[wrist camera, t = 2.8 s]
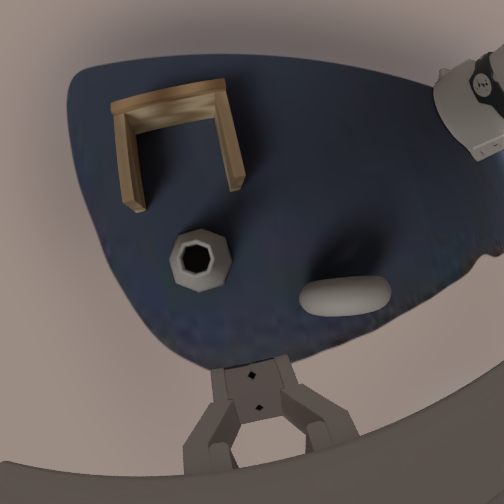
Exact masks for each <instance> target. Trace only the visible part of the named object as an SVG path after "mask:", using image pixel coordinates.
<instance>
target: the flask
mask: <svg viewBox="0 0 504 504" xmlns="http://www.w3.org/2000/svg"><path fill="white" fill-rule="evenodd" d="M169 262H170V265H171V269H172V272H173V276H174V279H175V283H176V284H179V285H181V286H184V287H187V288H189V289H192V290H194V291H197V292H202V291H206V290H209V289H213V288H216V287H219V286H223V285H224V283H225V280H226V277H227V275H228V272H229V269H230V267H231V264H232V258H231V255H230V252H229V248H228V245H227V241H226V238H225V237H224V236H221V235H218V234H216V233H213V232H210V231H208V230H205V229H203V228H201V229H197V230H194V231H190V232H187V233H184V234H180V235H178V236H177V238H176V241H175V243H174V246H173V249H172V251H171V254H170V257H169Z"/></svg>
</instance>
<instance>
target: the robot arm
mask: <svg viewBox="0 0 504 504" xmlns="http://www.w3.org/2000/svg"><path fill="white" fill-rule="evenodd" d="M433 95H434V101H435V105H436V108H437V110H438V113H439V115H440V117H441V119H442V121H443V122H444V124H445V125H446V127H447V128H448V130H449V131H450V132H451V134H452V135H453V136H454V137H455V138H456V139H457V140H458V141H459V142H460V143H461V144H463V145H464V146H465V147H466V148H467V149H468V150H469V152H470V153H471V155H472V156H473V157H474V159H475V160H477V161H481V160H483V159H485V158H487V157H489V156H491V155H493V154H495V153H497V152H499V151H501V150H503V149H504V44H503V45H502V46H501V47H500V48H498V49H497V50H496V51H495V52H488V53H487V54H484V55H483V56H481V57H480V58H479V59H478V60H477V61H474V60H470V59H468V60H466V61H464V62H462V63H461V64H459V65H458V66H456V67H454V68H453V69H451V70H448V69H445V68H443V69H441V70H440V71H439V79H438V81H437V82H436V83H435V85H434V90H433ZM211 381H212V390H213V399H214V403H210V404H209V406H208V408H207V409H206V411H205V412H204V414H203V416H202V417H201V419H200V420H199V422H198V423H197V425H196V426H195V428H194V430H193V431H192V433H191V434H190V436H189V437H188V439H187V441H186V442H185V444H184V445H183V462H184V475H174V476H149V477H148V476H146V477H129V476H126V477H125V476H103V475H89V474H78V473H70V472H62V471H55V470H49V469H43V468H37V467H32V466H27V465H22V464H18V463H14V462H10V461H3V462H1V463H0V504H504V361H502V362H501V363H500V364H498V365H497V366H495V367H494V368H493V369H491V370H489V371H488V372H486V373H485V374H483V375H482V376H480V377H479V378H477V379H475V380H474V381H472V382H471V383H469V384H467V385H466V386H464V387H462V388H461V389H459V390H458V391H456V392H454V393H452V394H450V395H448V396H447V397H445V398H443V399H441V400H439V401H437V402H436V403H434V404H432V405H430V406H428V407H426V408H424V409H422V410H420V411H418V412H416V413H414V414H412V415H410V416H407V417H405V418H403V419H401V420H398V421H396V422H394V423H392V424H389V425H387V426H385V427H382V428H380V429H378V430H375V431H372V432H370V433H367V434H365V435H362V436H359V434H358V431H357V429H356V427H355V425H354V423H353V421H352V419H351V417H350V415H349V413H348V411H347V410H345V409H343V408H341V407H340V406H338V405H336V404H334V403H333V402H331V401H329V400H328V399H326V398H324V397H323V396H321V395H320V394H318V393H316V392H315V391H313V390H312V389H310V388H308V387H307V386H305V385H304V384H298V381H297V379H296V376H295V373H294V371H293V368H292V366H291V363H290V360H289V358H288V356H287V355H282V356H278V357H274V358H269V359H265V360H260V361H256V362H251V363H248V364H242V365H236V366H230V367H224V368H219V369H213V370H211ZM278 416H284V417H285V418H286V419H287V420H288V421H290V422H291V423H292V424H293V425H294V426H296V427H297V428H298V429H299V430H300V431H302V432H303V433H304V434H306V450H305V454H302V455H298V456H295V457H291V458H287V459H283V460H278V461H274V462H270V463H264V464H259V465H254V466H249V467H243V468H239V467H238V465H237V463H236V461H235V459H234V456H233V454H232V452H231V450H230V449H231V447H232V445H233V443H234V440H235V438H236V436H237V434H238V431H239V429H240V427H241V424H245V423H250V422H254V421H258V420H263V419H268V418H273V417H278Z"/></svg>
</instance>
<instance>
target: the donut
mask: <svg viewBox="0 0 504 504" xmlns="http://www.w3.org/2000/svg"><path fill="white" fill-rule="evenodd" d="M390 297H391V288H390V285H389V283H388V282H387V281H386V280H385V279H384V278H382V277H379V276H353V277H341V278H332V279H324V280H318V281H314V282H310V283H308V284H306V285H305V286H304V287H303V288H302V289H301V291H300V294H299V301H300V304H301V306H302V307H303V308H304V309H305V310H306V311H307V312H308V313H311V314H314V315H318V316H349V315H357V314H364V313H368V312H373V311H375V310H378V309H380V308H382V307H383V306H385V305H386V304H387V302H388V301H389V299H390Z"/></svg>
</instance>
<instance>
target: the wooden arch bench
mask: <svg viewBox="0 0 504 504" xmlns="http://www.w3.org/2000/svg"><path fill="white" fill-rule="evenodd" d="M111 112H112V114H113V116H114V128H115V141H116V151H117V161H118V170H119V178H120V186H121V194H122V201H123V203H124V204H125V205H127V206H128V207H129V208H131V209H132V210H134V211H135V212H136V213H138V212H142V211H146V204H145V198H144V192H143V185H142V179H141V172H140V164H139V157H138V149H137V141H136V134H140V133H144V132H148V131H152V130H156V129H160V128H164V127H169V126H173V125H178V124H183V123H187V122H192V121H197V120H203V119H208V118H214V120H215V125H216V129H217V134H218V139H219V143H220V148H221V152H222V157H223V162H224V166H225V171H226V175H227V180H228V184H229V189H230V192H232V191H237V190H240V189H241V187H242V184H243V181H244V179H245V176H246V174H245V170H244V166H243V161H242V157H241V153H240V149H239V144H238V140H237V136H236V132H235V128H234V123H233V119H232V115H231V111H230V107H229V103H228V98H227V94H226V83H225V79H224V78H221V79H214V80H208V81H202V82H196V83H191V84H185V85H180V86H175V87H170V88H166V89H161V90H157V91H153V92H149V93H145V94H141V95H137V96H133V97H129V98H126V99H122V100H119V101H115V102H112V103H111Z"/></svg>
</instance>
